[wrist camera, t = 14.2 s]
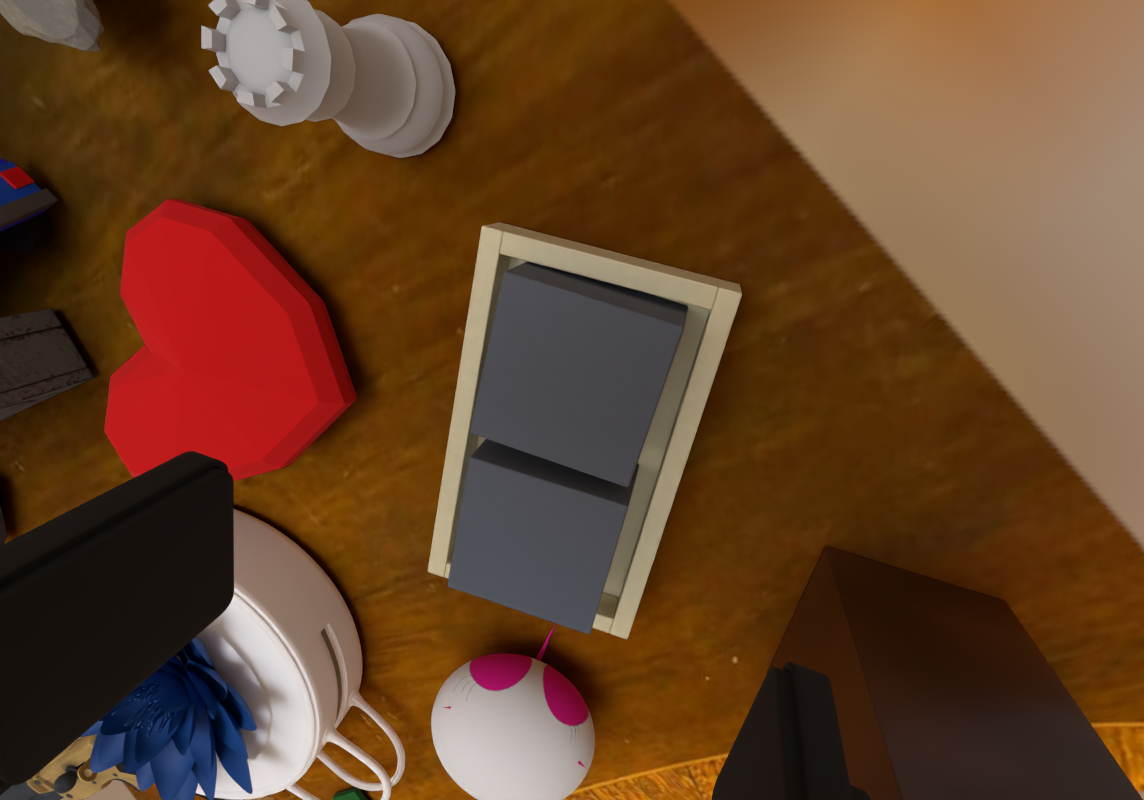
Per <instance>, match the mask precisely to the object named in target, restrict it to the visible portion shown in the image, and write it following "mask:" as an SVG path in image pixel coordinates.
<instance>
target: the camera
mask: <svg viewBox="0 0 1144 800" xmlns="http://www.w3.org/2000/svg"><path fill="white" fill-rule="evenodd" d="M61 326H62V325H61V323H60V321H59V320H58V318H57V316H56V315H55V313H54V311H53V309H52V308H48V309H43V310H38V311H33V312H27V313H22V314H17V315H12V316H7V317H2V318H0V421H2V420H4V419H6V418H8V417H10V416H12V415H14V414H16V413H18V412H20V411H22V410H25V409H27V408H29V407H31V406H33V405H35V404H37V403H40V402H42V401H44V400H46V399H49V398H51V397H53V396H55V395H57V394H60V393H62V392H64V391H66V390H69V389H71V388H73V387H75V386H77V385H80V384H82V383H84V382H86V381H89V380H91V379H93V378H94V376H93V375H92V373H91V371H90V370H89V368H86V367H87V365H86V363H85V362H84V360H83V358H82V357H81V355H80V354H79V352H78V350H77V349H76V347H75V346H74V344H73V342H72V341H71V339H70V338H69V336H68V334H67V333H66V331H65V329H64V328H63V327H61ZM84 368H86V369H84Z"/></svg>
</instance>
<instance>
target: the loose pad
mask: <svg viewBox="0 0 1144 800" xmlns="http://www.w3.org/2000/svg"><path fill="white" fill-rule="evenodd" d="M687 311H688V306H686V305H683V304H680V303H677V302H674V301H670V300H667V299H664V298H661V297H657V296H654V295H651V294H648V293H645V292H641V291H638V290H634V289H630V288H627V287H623V286H619V285H615V284H611V283H608V282H604V281H600V280H596V279H593V278H589V277H585V276H581V275H578V274H574V273H570V272H566V271H563V270H559V269H555V268H551V267H547V266H544V265H540V264H536V263H532V262H529V261H528V262H525V263H523V264H521V265H518V266H516V267H514V268H512V269H509V270H507V271H505V272H504V275H503V279H502V284H501V289H500V293H499V298H498V303H497V307H496V312H495V316H494V321H493V326H492V330H491V335H490V340H489V344H488V349H487V353H486V358H485V363H484V367H483V372H482V376H481V381H480V386H479V390H478V395H477V400H476V404H475V409H474V413H473V418H472V423H471V427H470V433H471V434H474V435H477V436H480V437H483V438H486V439H489V440H492V441H494V442H497V443H500V444H503V445H506V446H509V447H512V448H515V449H518V450H520V451H523V452H526V453H529V454H532V455H535V456H538V457H541V458H544V459H546V460H549V461H552V462H555V463H558V464H561V465H564V466H567V467H570V468H572V469H575V470H578V471H581V472H584V473H587V474H590V475H593V476H596V477H598V478H601V479H604V480H607V481H610V482H613V483H616V484H619V485H622V486H624V487H629V486H630V483H631V480H632V477H633V474H634V471H635V468H636V466H637V463H638V460H639V457H640V454H641V451H642V448H643V445H644V442H645V440H646V437H647V434H648V431H649V428H650V425H651V422H652V419H653V416H654V414H655V411H656V408H657V405H658V402H659V399H660V396H661V393H662V390H663V388H664V385H665V382H666V379H667V376H668V373H669V370H670V367H671V365H672V362H673V359H674V356H675V353H676V350H677V347H678V344H679V341H680V339H681V336H682V333H683V330H684V325H685V320H686V316H687Z"/></svg>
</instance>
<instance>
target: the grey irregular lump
mask: <svg viewBox="0 0 1144 800" xmlns="http://www.w3.org/2000/svg"><path fill="white" fill-rule="evenodd" d="M0 13H1V14H2V16H3V17H4V18H5V19H6V20H7V21H8V22H9V23H10V24H11V25H12V26H13V28H14V29H16V30H17V31H19V32H20V33H21V34H23V35H25V36H34V37H38V38H40V39H42V40H44V41H47V42H49V43H59V44H63V45H67V46H71V47H74V48H78V49H81V50H84V51H101V48H100V43H99V38H98V37H99V36H100V35H101V33H102V32H103V30H104V27H103V24H102V22H101V20H100V15H99V11H98V9H97V8H96V6H95V4H94V3H93V0H0Z"/></svg>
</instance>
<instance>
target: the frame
mask: <svg viewBox="0 0 1144 800" xmlns="http://www.w3.org/2000/svg"><path fill="white" fill-rule="evenodd" d="M528 261H529V262H532V263H536V264H540V265H544V266H547V267H551V268H555V269H559V270H563V271H566V272H570V273H574V274H578V275H581V276H585V277H589V278H593V279H596V280H600V281H604V282H608V283H611V284H615V285H619V286H623V287H627V288H630V289H634V290H638V291H641V292H645V293H648V294H651V295H654V296H657V297H661V298H664V299H667V300H670V301H674V302H677V303H680V304H683V305H686V306H688V311H687V316H686V320H685V325H684V330H683V333H682V336H681V339H680V341H679V344H678V347H677V350H676V353H675V356H674V359H673V362H672V365H671V367H670V370H669V373H668V376H667V379H666V382H665V385H664V388H663V390H662V393H661V396H660V399H659V402H658V405H657V408H656V411H655V414H654V416H653V419H652V422H651V425H650V428H649V431H648V434H647V437H646V440H645V442H644V445H643V448H642V451H641V454H640V457H639V460H638V463H637V464H639V468H638V472H637V476H636V480H635V484H634V487H633V491H632V495H631V499H630V503H629V506H628V510H627V513H626V517H625V520H624V523H623V527H622V530H621V533H620V537H619V540H618V543H617V547H616V550H615V553H614V557H613V560H612V563H611V567H610V570H609V573H608V576H607V580H606V583H605V586H604V590H603V593H602V596H601V600H600V603H599V606H598V610H597V613H596V616H595V620H594V623H593V626H592V628H595V629H598V630H601V631H604V632H607V633H609V632H610V634H612V635H615V636H618V637H621V638H624V639H628V636H629V633H630V630H631V627H632V624H633V621H634V618H635V615H636V612H637V609H638V606H639V603H640V600H641V597H642V594H643V591H644V588H645V585H646V582H647V579H648V576H649V573H650V570H651V567H652V564H653V561H654V558H655V555H656V552H657V549H658V546H659V543H660V540H661V537H662V534H663V531H664V528H665V525H666V522H667V519H668V516H669V513H670V510H671V507H672V504H673V501H674V498H675V495H676V492H677V489H678V486H679V483H680V480H681V477H682V474H683V471H684V468H685V465H686V462H687V459H688V456H689V453H690V450H691V447H692V444H693V441H694V438H695V435H696V432H697V429H698V426H699V423H700V420H701V417H702V414H703V411H704V408H705V405H706V402H707V399H708V396H709V393H710V390H711V387H712V384H713V381H714V378H715V375H716V372H717V369H718V366H719V363H720V360H721V357H722V354H723V351H724V348H725V345H726V342H727V339H728V336H729V333H730V329H731V326H732V323H733V320H734V317H735V314H736V311H737V308H738V305H739V302H740V299H741V296H742V292H741V288H740V285H739V284H736V283H732V282H729V281H725V280H721V279H717V278H713V277H709V276H705V275H702V274H698V273H694V272H690V271H686V270H682V269H678V268H675V267H671V266H667V265H663V264H659V263H655V262H651V261H648V260H644V259H640V258H636V257H632V256H628V255H624V254H620V253H617V252H613V251H609V250H605V249H601V248H597V247H593V246H590V245H586V244H582V243H578V242H574V241H570V240H566V239H563V238H559V237H555V236H551V235H547V234H543V233H539V232H536V231H532V230H528V229H524V228H520V227H516V226H512V225H508V224H505V223H501V222H499V223H494V224H489V225H484V226H482V228H481V234H480V241H479V247H478V254H477V260H476V266H475V273H474V279H473V285H472V292H471V298H470V304H469V311H468V317H467V323H466V330H465V336H464V343H463V349H462V355H461V362H460V368H459V374H458V381H457V387H456V393H455V400H454V406H453V413H452V419H451V425H450V432H449V438H448V444H447V451H446V457H445V463H444V470H443V476H442V483H441V489H440V495H439V502H438V508H437V514H436V521H435V527H434V533H433V540H432V546H431V553H430V559H429V565H428V572H430V573H433V574H436V575H439V576H442V577H444V576H445V578H449V572H450V566H451V560H452V555H453V549H454V543H455V537H456V532H457V526H458V520H459V515H460V509H461V503H462V497H463V492H464V486H465V480H466V474H467V469H468V463H469V458H470V456H471V455H472V454H473V453H474V452H475V451H476V450H477V448H478V447H479V446H480V445H481V444H482V443H483V442H484V440H485V439H486V438H483V437H480V436H477V435H474V434H471V433H470V427H471V423H472V418H473V413H474V409H475V404H476V400H477V395H478V390H479V386H480V381H481V376H482V372H483V367H484V363H485V358H486V353H487V349H488V344H489V340H490V335H491V330H492V326H493V321H494V316H495V312H496V307H497V303H498V298H499V293H500V289H501V284H502V279H503V275H504V272H505V271H507V270H509V269H512V268H514V267H516V266H518V265H521V264H523V263H525V262H528Z"/></svg>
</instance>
